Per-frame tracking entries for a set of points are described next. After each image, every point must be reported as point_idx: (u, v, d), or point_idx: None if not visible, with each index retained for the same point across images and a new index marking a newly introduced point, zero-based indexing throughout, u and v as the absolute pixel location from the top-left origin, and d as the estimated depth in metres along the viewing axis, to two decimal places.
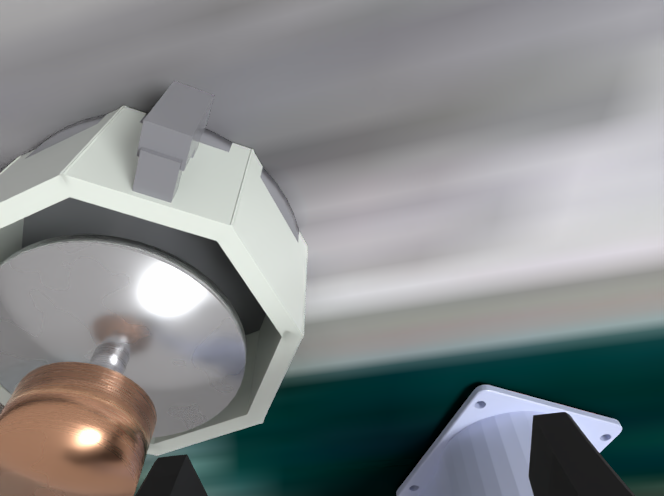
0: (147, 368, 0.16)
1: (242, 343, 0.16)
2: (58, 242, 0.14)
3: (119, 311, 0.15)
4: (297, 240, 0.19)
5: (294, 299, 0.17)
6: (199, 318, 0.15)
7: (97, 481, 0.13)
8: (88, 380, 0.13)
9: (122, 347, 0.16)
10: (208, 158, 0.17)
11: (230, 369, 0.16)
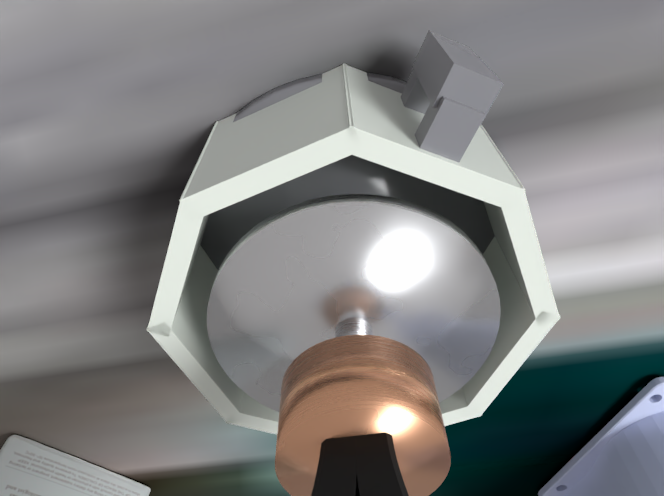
0: None
1: (499, 319, 0.14)
2: (332, 202, 0.12)
3: (377, 282, 0.13)
4: None
5: None
6: (462, 290, 0.14)
7: (408, 469, 0.11)
8: (390, 354, 0.11)
9: (367, 324, 0.14)
10: None
11: (477, 349, 0.15)
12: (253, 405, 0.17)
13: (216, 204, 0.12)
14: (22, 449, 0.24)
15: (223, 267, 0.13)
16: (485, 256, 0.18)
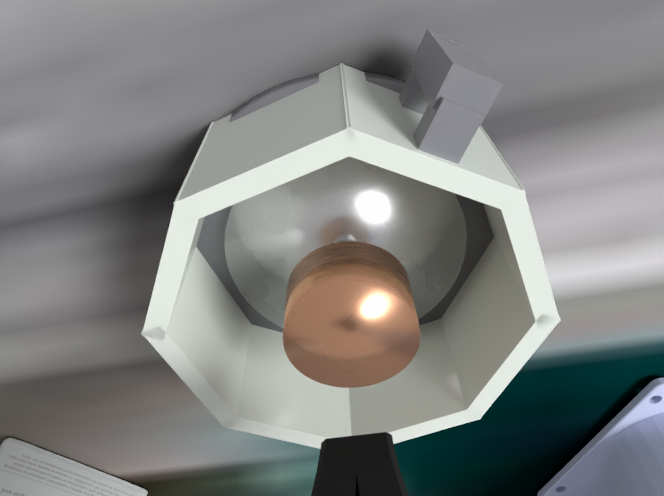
0: None
1: (466, 241, 0.17)
2: None
3: (364, 208, 0.16)
4: None
5: None
6: (435, 215, 0.17)
7: (387, 342, 0.14)
8: (374, 254, 0.14)
9: None
10: None
11: (448, 268, 0.18)
12: (250, 408, 0.17)
13: (211, 207, 0.12)
14: (17, 452, 0.24)
15: None
16: (484, 257, 0.18)
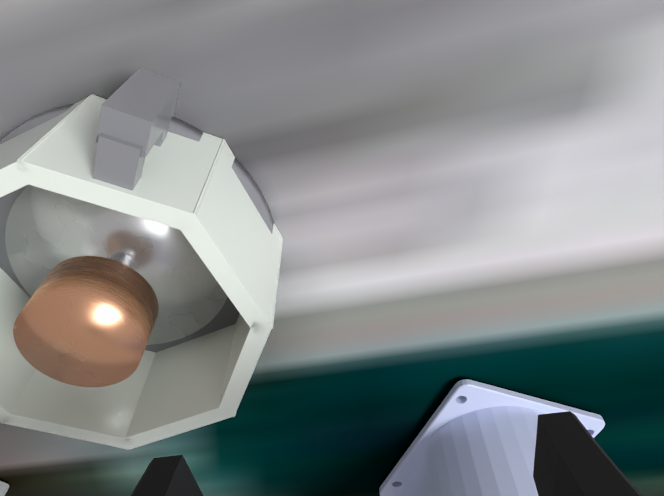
0: (150, 277, 0.19)
1: None
2: None
3: (127, 224, 0.18)
4: (270, 232, 0.19)
5: (264, 290, 0.17)
6: None
7: (111, 347, 0.16)
8: (104, 268, 0.16)
9: (130, 258, 0.19)
10: (177, 147, 0.16)
11: None
12: (28, 406, 0.19)
13: None
14: None
15: (10, 212, 0.18)
16: None
